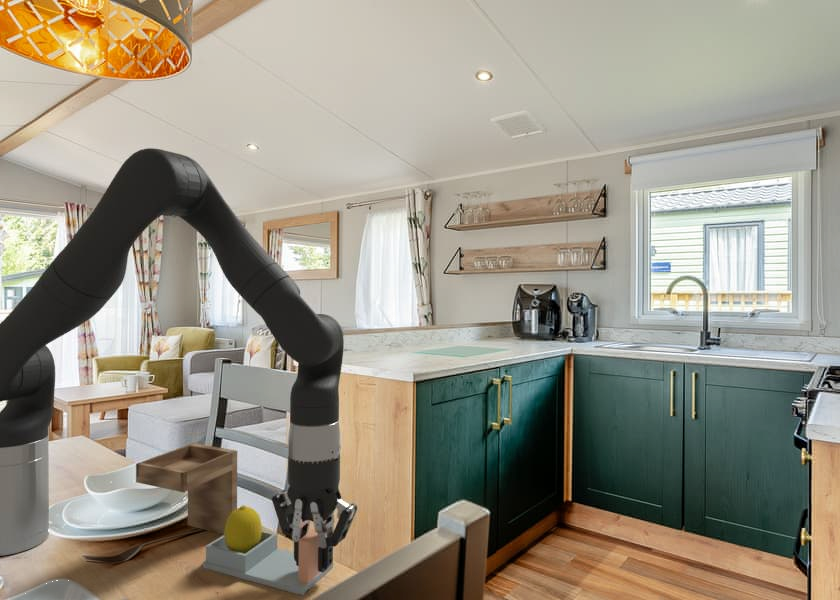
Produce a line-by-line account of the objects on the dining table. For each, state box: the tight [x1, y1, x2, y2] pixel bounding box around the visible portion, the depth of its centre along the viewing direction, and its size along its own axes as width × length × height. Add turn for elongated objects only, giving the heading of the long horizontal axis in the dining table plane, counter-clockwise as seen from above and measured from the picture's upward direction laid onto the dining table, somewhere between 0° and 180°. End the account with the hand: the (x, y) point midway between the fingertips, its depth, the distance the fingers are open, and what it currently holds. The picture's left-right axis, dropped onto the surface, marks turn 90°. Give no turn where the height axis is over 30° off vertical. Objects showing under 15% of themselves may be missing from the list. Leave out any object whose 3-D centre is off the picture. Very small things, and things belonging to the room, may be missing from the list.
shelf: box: [135, 443, 238, 535], centre depth 87 cm, size 10×12×14 cm
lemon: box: [223, 504, 263, 554], centre depth 81 cm, size 6×6×8 cm
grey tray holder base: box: [202, 527, 334, 596], centre depth 80 cm, size 18×8×7 cm, turn 68°
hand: (313, 566), depth 77 cm, fingers open, 3 cm apart
